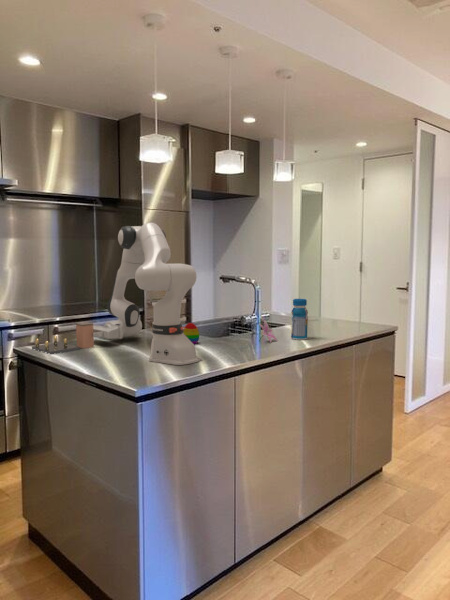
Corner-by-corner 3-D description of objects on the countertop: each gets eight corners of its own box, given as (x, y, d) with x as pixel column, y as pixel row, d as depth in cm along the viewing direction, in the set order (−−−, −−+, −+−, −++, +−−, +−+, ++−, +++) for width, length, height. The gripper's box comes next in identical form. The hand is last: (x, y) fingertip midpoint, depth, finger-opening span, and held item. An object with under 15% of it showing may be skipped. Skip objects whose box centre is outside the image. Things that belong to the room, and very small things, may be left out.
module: (93, 346, 224) (93, 323, 223) (83, 348, 220) (82, 324, 219) (87, 345, 228) (86, 322, 227) (76, 347, 224) (76, 323, 222)
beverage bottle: (296, 340, 238) (297, 300, 236) (287, 337, 245) (288, 298, 243) (311, 339, 241) (311, 299, 239) (301, 336, 249) (302, 298, 247)
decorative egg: (179, 344, 230) (178, 323, 229) (188, 341, 237) (187, 321, 236) (193, 345, 226) (193, 324, 225) (202, 342, 233) (202, 322, 232)
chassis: (79, 349, 218) (79, 339, 217) (50, 354, 207) (50, 343, 207) (60, 344, 229) (60, 334, 229) (32, 349, 219) (31, 338, 218)
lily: (258, 346, 229) (268, 329, 227) (246, 333, 238) (256, 317, 236) (276, 351, 237) (285, 334, 234) (263, 338, 245) (272, 322, 243)
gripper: (99, 321, 241) (74, 324, 231) (124, 325, 227) (98, 329, 217) (99, 334, 241) (75, 337, 231) (124, 339, 228) (99, 343, 217)
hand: (86, 333), depth 224 cm, fingers open, 8 cm apart
